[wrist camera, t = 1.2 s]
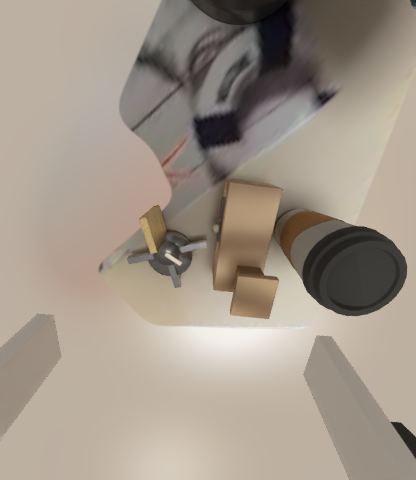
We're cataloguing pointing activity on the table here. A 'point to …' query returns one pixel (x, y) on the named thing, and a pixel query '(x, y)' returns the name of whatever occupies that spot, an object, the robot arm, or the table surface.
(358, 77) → the table surface
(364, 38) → the table surface
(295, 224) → the coffee cup
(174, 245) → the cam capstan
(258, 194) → the wooden drawer box
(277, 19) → the table surface
